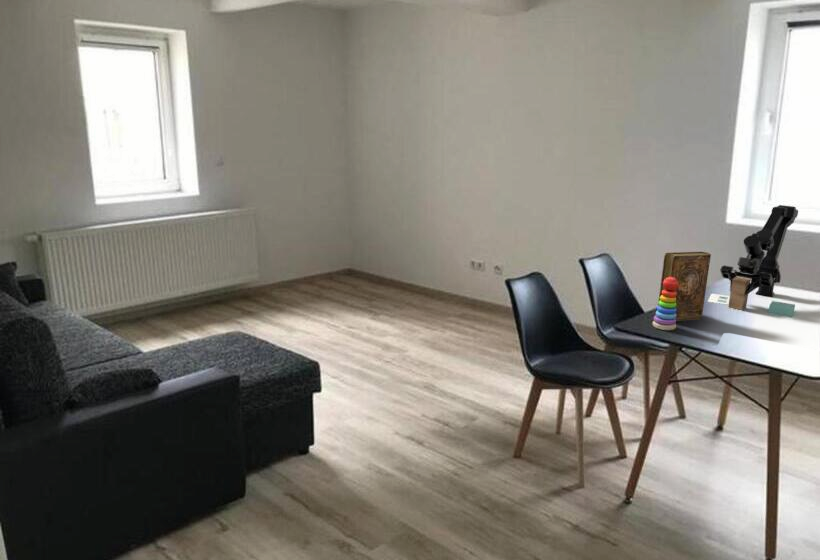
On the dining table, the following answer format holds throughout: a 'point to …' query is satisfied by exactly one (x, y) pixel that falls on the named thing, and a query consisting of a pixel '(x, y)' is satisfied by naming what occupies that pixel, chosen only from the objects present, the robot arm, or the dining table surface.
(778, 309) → the base brick
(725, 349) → the dining table surface
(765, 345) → the dining table surface
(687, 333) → the dining table surface
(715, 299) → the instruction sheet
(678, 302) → the book
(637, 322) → the dining table surface
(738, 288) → the column brick
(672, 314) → the stacking toy
